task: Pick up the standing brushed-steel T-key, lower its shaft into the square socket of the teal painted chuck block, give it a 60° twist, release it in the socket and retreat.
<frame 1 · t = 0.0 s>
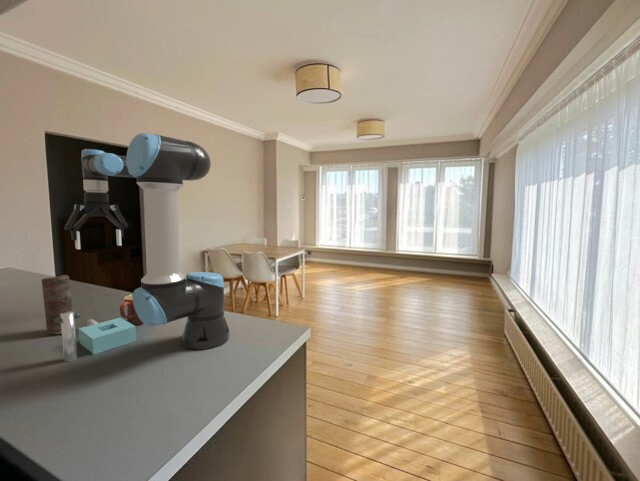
hand: (99, 247, 116), 28 cm above the kitchen island, fingers open, 13 cm apart
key: (70, 359, 87), on the kitchen island
brown mottled cylinder: (61, 332, 105), on the kitchen island
chuck block: (108, 341, 99), on the kitchen island
mug: (135, 324, 113), on the kitchen island
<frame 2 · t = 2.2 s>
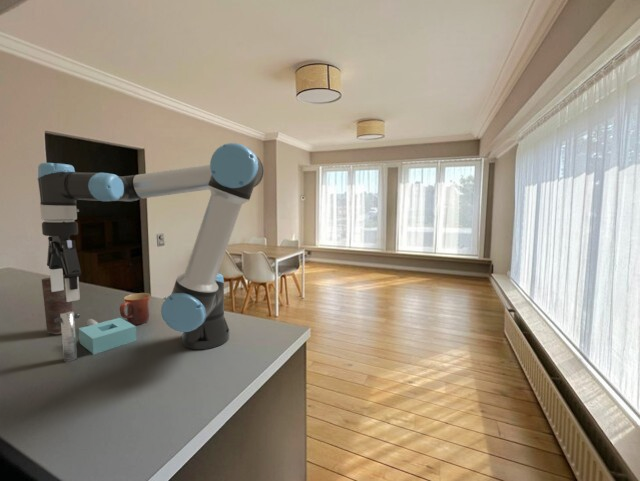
hand: (65, 295, 85), 19 cm above the kitchen island, fingers open, 13 cm apart
nothing on the kitchen island moved.
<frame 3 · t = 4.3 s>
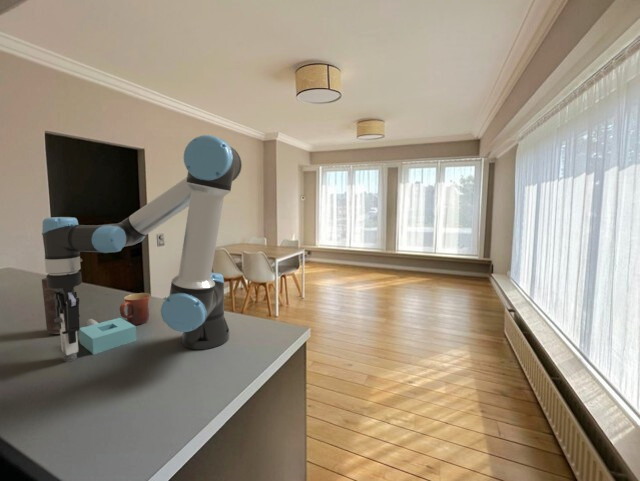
hand: (70, 350, 87), 3 cm above the kitchen island, fingers closed on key, 3 cm apart
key: (70, 359, 87), on the kitchen island, touching gripper
everything else where it was.
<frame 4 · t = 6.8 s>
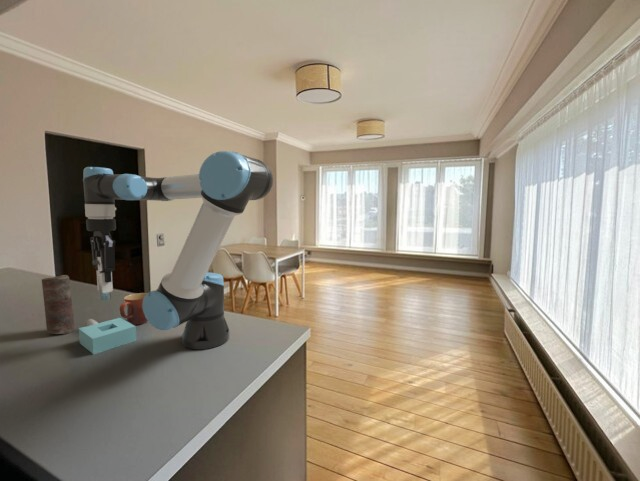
hand: (105, 290, 96), 17 cm above the kitchen island, fingers closed on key, 3 cm apart
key: (105, 299, 97), point 15 cm above the kitchen island, touching gripper
everything else where it was.
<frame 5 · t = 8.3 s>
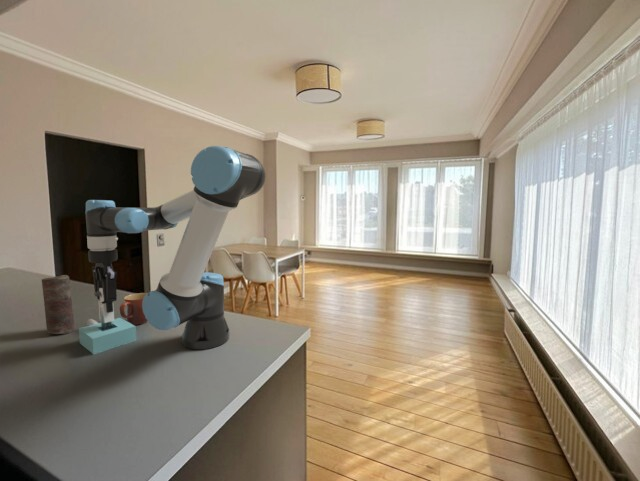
hand: (106, 319, 98), 8 cm above the kitchen island, fingers closed on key, 3 cm apart
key: (107, 329, 98), point 4 cm above the kitchen island, touching gripper
everything else where it was.
when the fingers open (6 cm above the kitchen island, at t = 9.3 s): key drops 3 cm, resting in chuck block.
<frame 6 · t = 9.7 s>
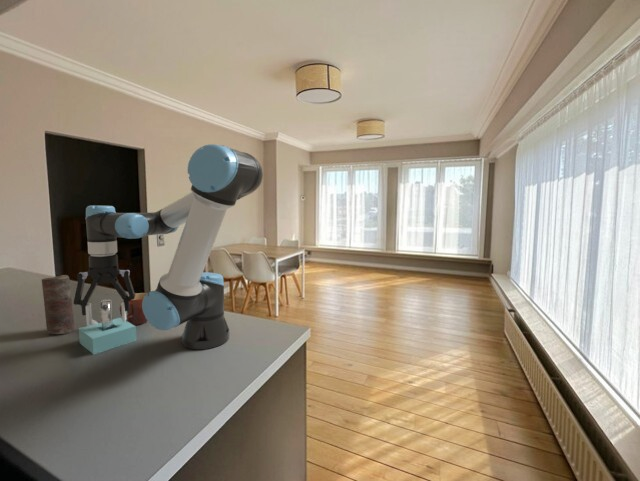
hand: (107, 322, 98), 7 cm above the kitchen island, fingers open, 9 cm apart
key: (108, 341, 98), resting in chuck block
everything else where it was.
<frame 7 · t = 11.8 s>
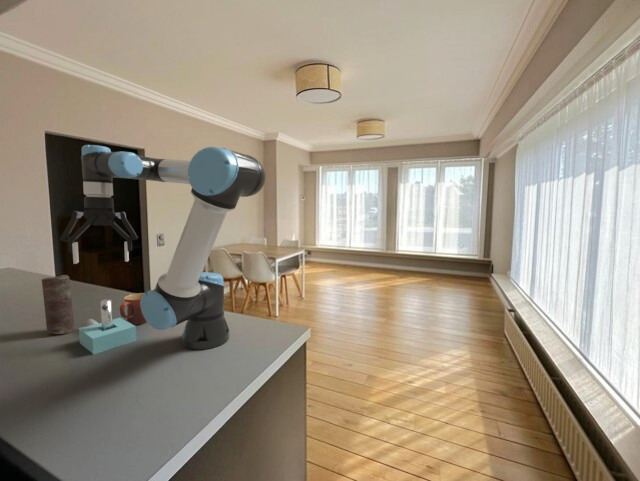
hand: (102, 262, 98), 26 cm above the kitchen island, fingers open, 13 cm apart
nothing on the kitchen island moved.
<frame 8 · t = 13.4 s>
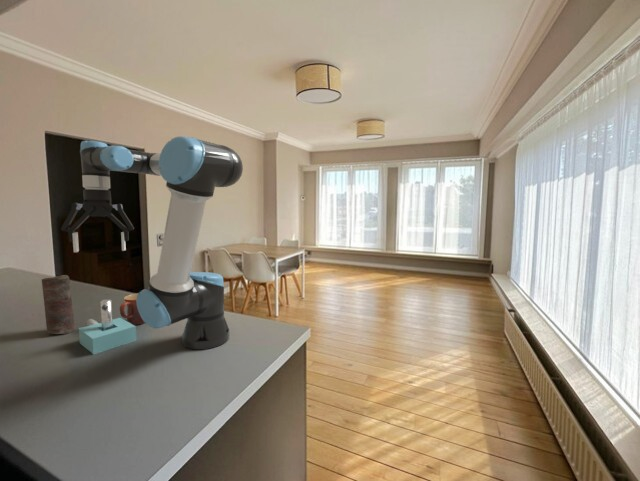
hand: (100, 251, 104), 29 cm above the kitchen island, fingers open, 13 cm apart
nothing on the kitchen island moved.
at the end: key 0.1 cm off-centre on the chuck block, point 0.0 cm above the chuck block's base; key tilted 0°; the gripper is holding nothing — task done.
